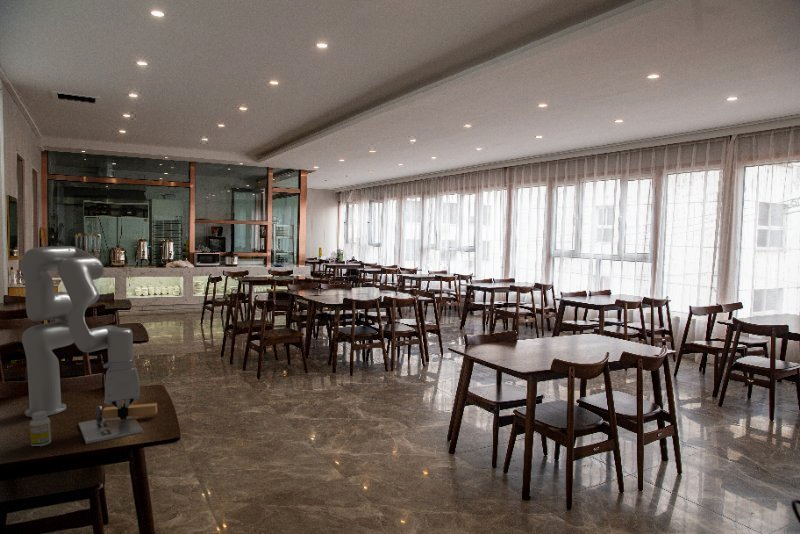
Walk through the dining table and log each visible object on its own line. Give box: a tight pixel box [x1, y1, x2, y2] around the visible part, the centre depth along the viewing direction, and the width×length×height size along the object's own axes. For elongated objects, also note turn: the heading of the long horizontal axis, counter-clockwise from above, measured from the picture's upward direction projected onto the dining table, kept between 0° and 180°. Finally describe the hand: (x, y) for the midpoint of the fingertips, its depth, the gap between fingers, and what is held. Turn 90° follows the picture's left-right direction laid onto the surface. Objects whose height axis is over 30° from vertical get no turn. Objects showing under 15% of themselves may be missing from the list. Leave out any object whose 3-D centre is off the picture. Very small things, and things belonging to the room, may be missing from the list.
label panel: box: [78, 405, 144, 445], centre depth 178 cm, size 20×16×6 cm
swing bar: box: [102, 402, 158, 419], centre depth 187 cm, size 16×3×3 cm, turn 105°
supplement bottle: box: [29, 411, 52, 447], centre depth 166 cm, size 5×5×10 cm
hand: (123, 418), depth 183 cm, fingers closed
